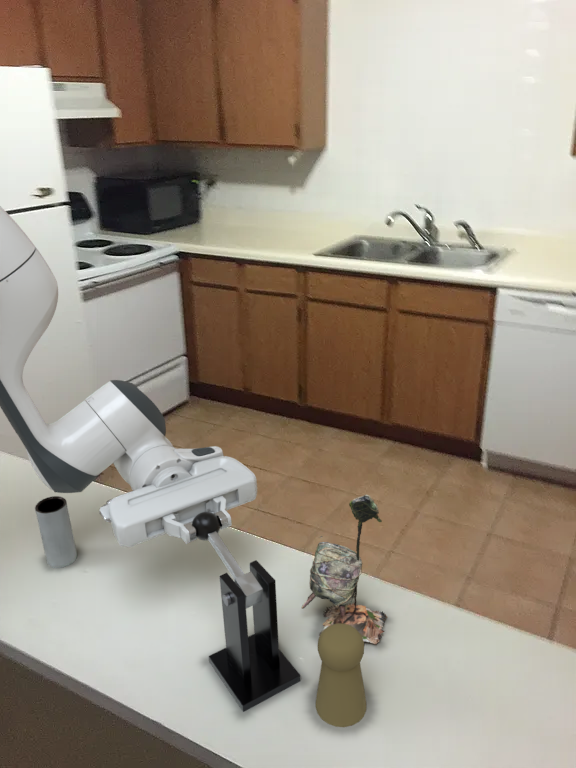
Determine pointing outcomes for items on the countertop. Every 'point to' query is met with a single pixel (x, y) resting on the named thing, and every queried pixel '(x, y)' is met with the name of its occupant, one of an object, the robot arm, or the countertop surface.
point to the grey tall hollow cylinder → (56, 531)
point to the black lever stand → (252, 644)
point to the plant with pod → (345, 579)
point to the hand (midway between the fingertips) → (209, 530)
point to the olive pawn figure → (341, 676)
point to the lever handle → (227, 557)
